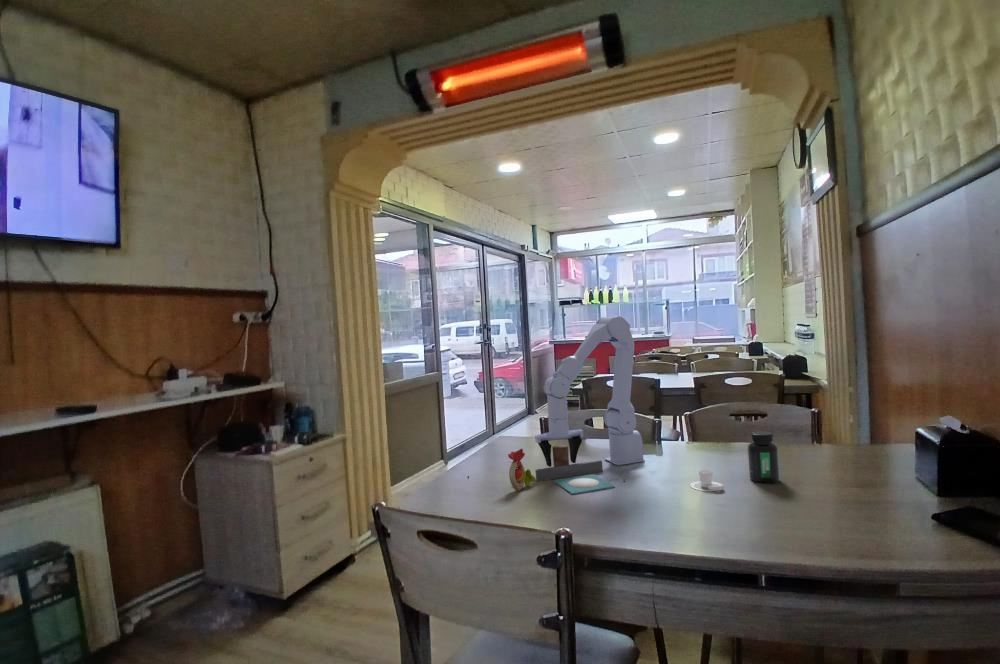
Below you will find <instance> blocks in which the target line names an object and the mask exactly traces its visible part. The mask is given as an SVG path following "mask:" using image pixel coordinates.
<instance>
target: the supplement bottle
mask: <svg viewBox="0 0 1000 664" xmlns="http://www.w3.org/2000/svg"><path fill="white" fill-rule="evenodd" d="M750 435H751V438H750V439H751V441H752V442H750V443H749V444H748V446H747V452H748V453H747V454H748V455H747V457H748V473H749V478H750V480H751V481H753V482H755V483H759V484H767V485H770V484H776V483H778V482H779V481H780V463H779V448H778V446H777V444H775V443H774V437H773V433H772V432H770V431H765V430H764V431H763V430H757V431H752V432H751V433H750Z"/></svg>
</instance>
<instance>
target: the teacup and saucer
mask: <svg viewBox="0 0 1000 664" xmlns="http://www.w3.org/2000/svg"><path fill="white" fill-rule="evenodd" d="M698 475H699V481H694V482H691V483H690V485H689V486H690V487H691V489H693V490H697V491H702V492H718V491H723V490H724V488H725V485H724V484H722V483H720V482H717V481H713V471H711V470H710V469H701V470H699V471H698ZM695 484H696V485H698V484H700V485H701V487H702V488H705V489H701V488H697V487H696V485H695ZM694 485H695V487H694Z"/></svg>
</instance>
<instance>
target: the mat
mask: <svg viewBox="0 0 1000 664" xmlns="http://www.w3.org/2000/svg"><path fill="white" fill-rule="evenodd" d="M553 482H554V483H555V484H556V485H557V486H559V487H561V489H563V490H565V491H566V492H568V493H569V495H580V494H584V493H591V492H595V491H596V492H597V491H602V490H608V489H615V488H616V487H615V485H614V484H612V483H610V482H609V481H607V480H605V479H603V478H602V477H599V476H598V475H596V474H595V473H594V474H593V473H590V474H584V475H578V476H571V477H565V478H558V479H553Z"/></svg>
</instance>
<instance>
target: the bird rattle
mask: <svg viewBox="0 0 1000 664" xmlns="http://www.w3.org/2000/svg"><path fill="white" fill-rule="evenodd" d="M523 451H524V449H523V448H520V449H518V450H516V451H511V452H510V453H508V455H507V457H508V458H509V459H510V460H512V462H511V464H510V467H509V470H508V471H509V472H508V475H509V476H508V477H509V482H510V484H511V486H512V487H513V488H514V490H515V492H520V491H521V489H522V488H523V487H524V485H525V486H526V487H529V486H530V485H531V483H532V482H535V481H536V476H534V475H533V474H532V471H531V470H530V469H529V468H527V469H526V470H525V467H524V465H523V464H522V460H523V458H524V457H525V456H526V455H525V452H523Z"/></svg>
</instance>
